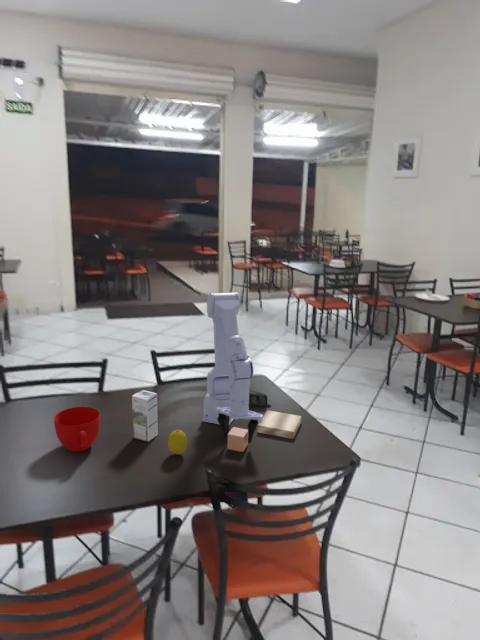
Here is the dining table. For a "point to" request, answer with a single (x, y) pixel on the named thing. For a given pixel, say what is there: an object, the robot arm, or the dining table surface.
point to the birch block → (279, 424)
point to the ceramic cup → (77, 427)
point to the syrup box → (144, 415)
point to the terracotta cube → (237, 439)
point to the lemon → (177, 442)
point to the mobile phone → (257, 399)
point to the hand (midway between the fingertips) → (238, 439)
